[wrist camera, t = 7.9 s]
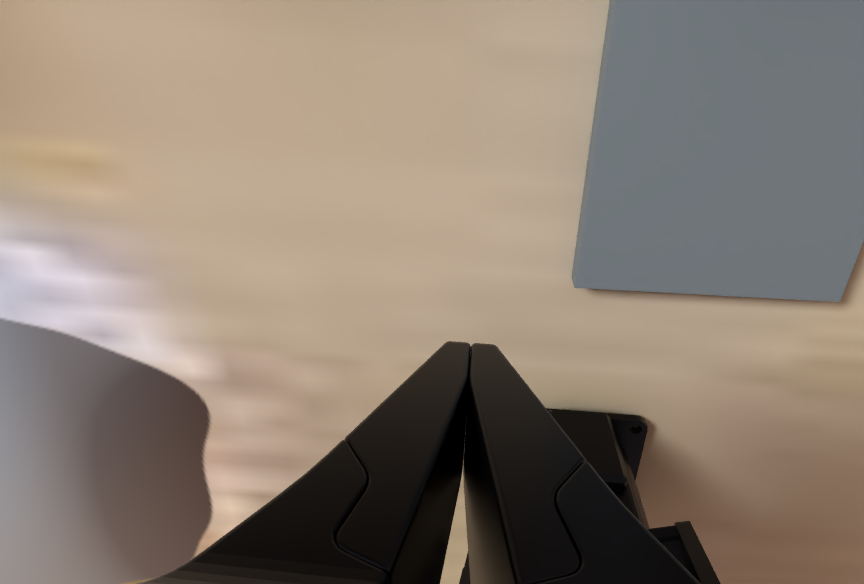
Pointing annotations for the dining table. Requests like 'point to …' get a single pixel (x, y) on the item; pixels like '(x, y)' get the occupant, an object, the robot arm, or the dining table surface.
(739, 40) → the slate board
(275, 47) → the dining table surface
